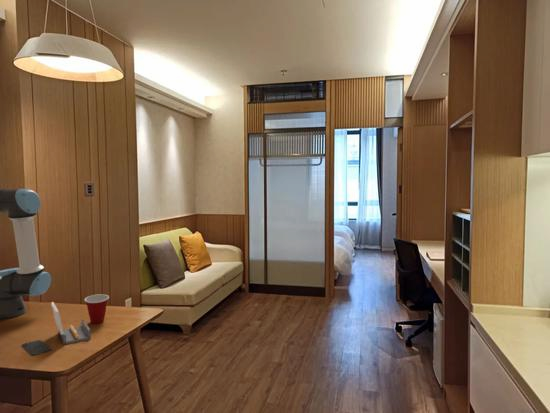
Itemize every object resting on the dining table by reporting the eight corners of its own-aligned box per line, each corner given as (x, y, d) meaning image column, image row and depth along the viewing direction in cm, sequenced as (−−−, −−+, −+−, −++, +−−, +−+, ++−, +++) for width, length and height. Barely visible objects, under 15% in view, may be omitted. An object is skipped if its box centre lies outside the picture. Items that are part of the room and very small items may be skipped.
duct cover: (58, 322, 166) (55, 323, 166) (53, 301, 165) (50, 302, 164) (63, 333, 154) (61, 334, 153) (58, 311, 152) (55, 312, 151)
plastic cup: (83, 327, 174) (83, 301, 173) (86, 319, 184) (85, 295, 183) (108, 324, 178) (108, 299, 177) (110, 316, 188) (109, 293, 187)
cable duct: (58, 332, 166) (58, 324, 166) (83, 327, 173) (83, 319, 172) (64, 344, 154) (63, 335, 154) (90, 338, 160) (90, 329, 160)
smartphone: (31, 355, 143) (20, 344, 153) (31, 357, 143) (20, 346, 153) (53, 348, 149) (40, 338, 159) (53, 351, 149) (40, 340, 159)
